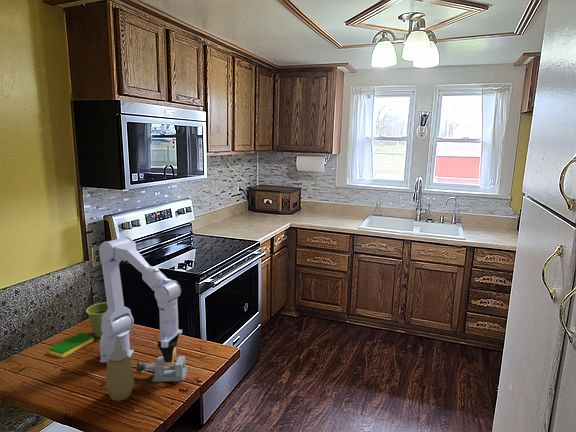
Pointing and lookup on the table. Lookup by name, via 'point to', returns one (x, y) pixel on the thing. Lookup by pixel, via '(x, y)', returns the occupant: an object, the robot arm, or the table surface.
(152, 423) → the table surface
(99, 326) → the plant pot
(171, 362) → the block
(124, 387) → the squeeze bottle
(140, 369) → the shaft
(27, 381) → the table surface
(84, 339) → the dish sponge
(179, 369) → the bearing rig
